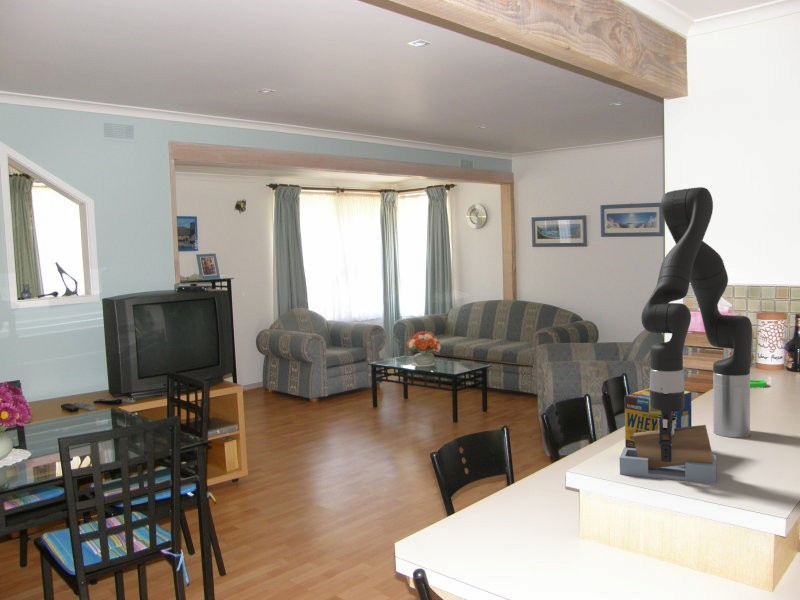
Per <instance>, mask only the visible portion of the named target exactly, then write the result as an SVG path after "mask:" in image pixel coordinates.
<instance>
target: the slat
mask: <svg viewBox="0 0 800 600" xmlns="http://www.w3.org/2000/svg"><path fill="white" fill-rule="evenodd" d="M633 439H634V443H635V448H636V452H637V456H638V457H640V458H649V468H659V467H670V466H681V465H682V466H685V462H695V463H713V460H714V458H713V455H714V454H713V451H712V447H711V442H710V438H709V433H708V429H707V425H706V424H701V425H691V426H690V427H682V428H675V433H674V437H672V446H671V452H672V460H671V462H663V461H661V445H660V444H659V434H658V430H656V431H647V432H639V433H634V435H633ZM663 440H669V437H663Z"/></svg>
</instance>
